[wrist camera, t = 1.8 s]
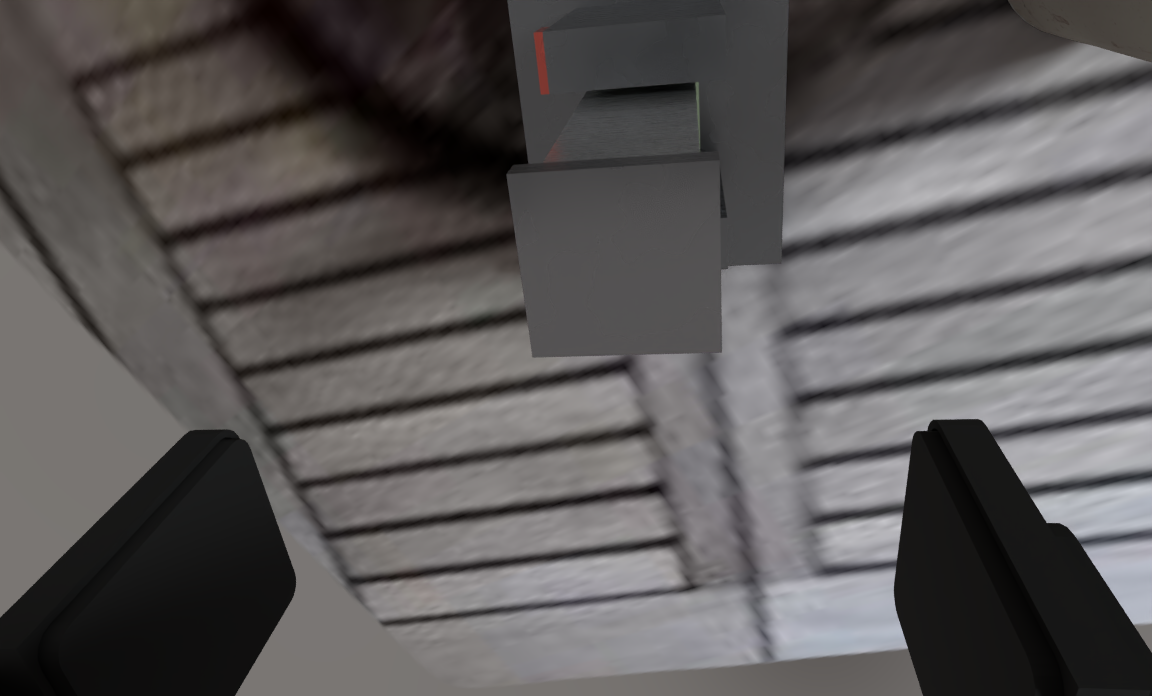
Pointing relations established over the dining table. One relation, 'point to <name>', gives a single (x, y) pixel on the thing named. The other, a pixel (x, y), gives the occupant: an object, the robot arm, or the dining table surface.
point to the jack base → (670, 56)
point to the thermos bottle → (1094, 22)
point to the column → (622, 229)
